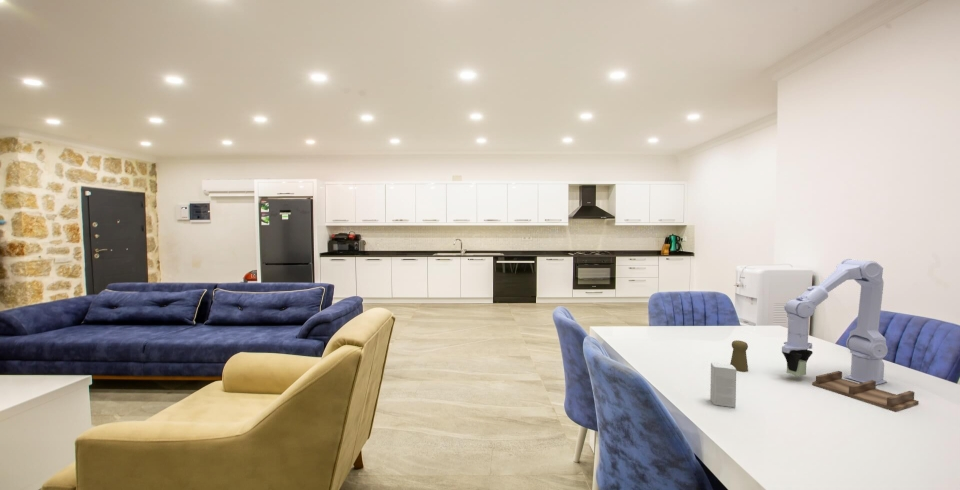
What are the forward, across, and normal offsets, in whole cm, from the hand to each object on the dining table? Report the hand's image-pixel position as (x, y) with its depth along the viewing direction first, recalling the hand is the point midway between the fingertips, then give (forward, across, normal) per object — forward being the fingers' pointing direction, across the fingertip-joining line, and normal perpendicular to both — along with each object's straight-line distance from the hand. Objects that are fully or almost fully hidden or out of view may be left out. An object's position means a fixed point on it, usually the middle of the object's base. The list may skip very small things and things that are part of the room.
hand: (796, 369), depth 137 cm
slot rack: (+3, -6, +16) cm, 17 cm away
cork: (+3, +10, -14) cm, 18 cm away
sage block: (+1, 0, 0) cm, 1 cm away
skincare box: (+3, +45, +4) cm, 45 cm away
